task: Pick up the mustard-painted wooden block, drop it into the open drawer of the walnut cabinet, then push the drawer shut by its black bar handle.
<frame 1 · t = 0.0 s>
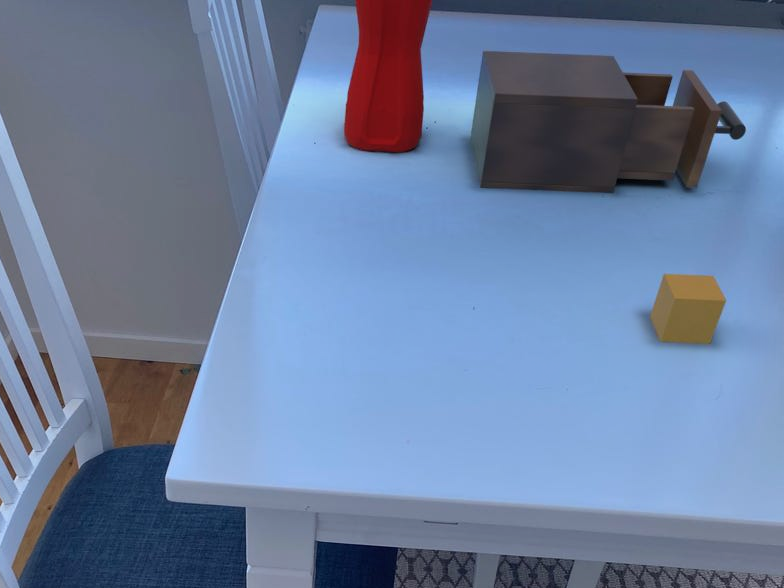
block: (678, 332, 85), on the table
red bottle: (382, 140, 114), on the table
drawer: (653, 126, 105), point 5 cm above the table, slide at 8.0 cm
cabinet: (538, 168, 109), on the table
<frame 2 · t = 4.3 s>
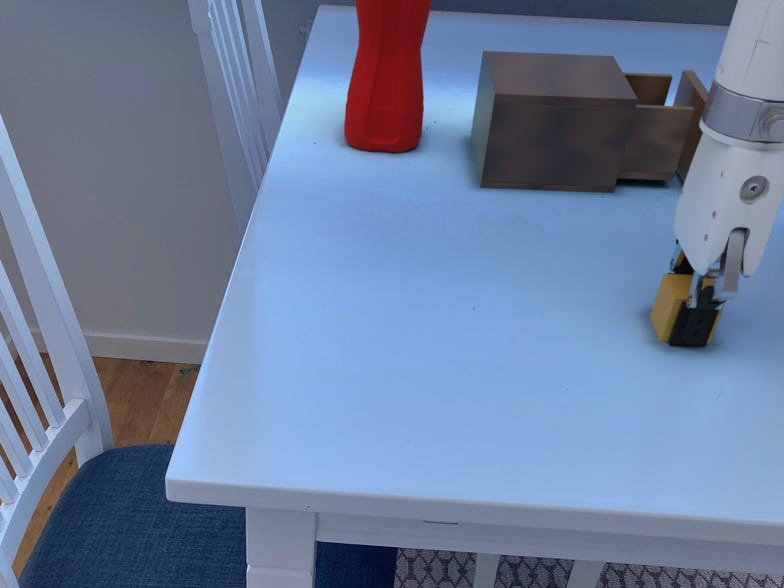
hand: (679, 329, 85), 0 cm above the table, tool pointing down, fingers closed on block, 4 cm apart
block: (678, 332, 85), on the table, touching gripper
everything else where it was.
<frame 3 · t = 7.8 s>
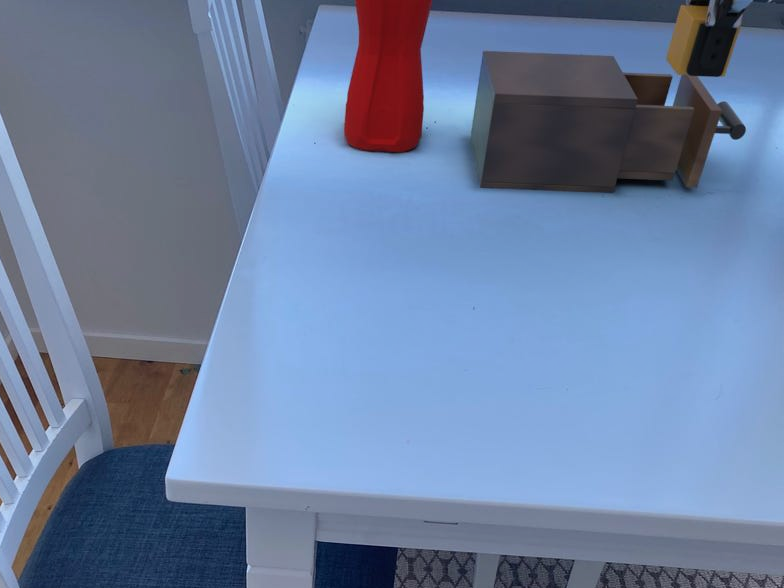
hand: (696, 63, 88), 15 cm above the table, tool pointing down, fingers closed on block, 4 cm apart
block: (694, 67, 88), point 15 cm above the table, touching gripper
everything else where it was.
when the fingers open (8 cm above the table, at t = 12.0 s): block stays where it is, resting on drawer.
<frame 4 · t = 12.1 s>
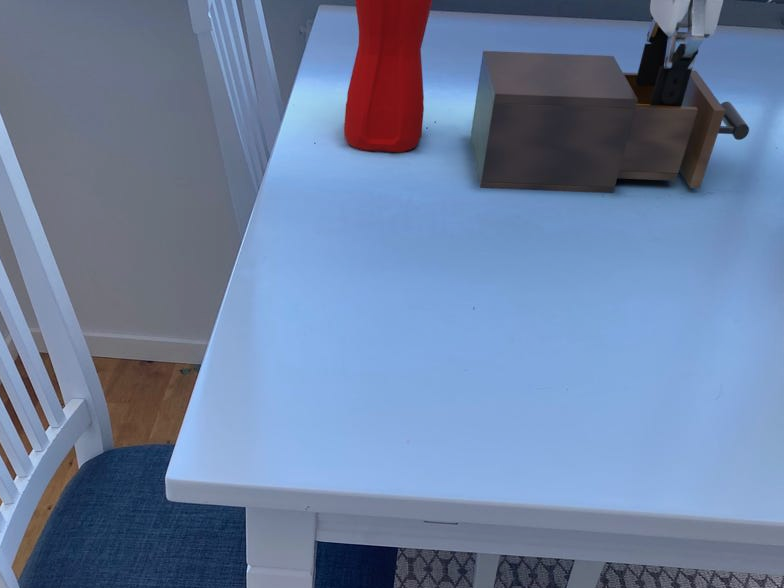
hand: (657, 95, 103), 8 cm above the table, tool pointing down, fingers open, 6 cm apart
block: (640, 153, 107), point 2 cm above the table, touching drawer
drawer: (656, 126, 105), point 5 cm above the table, slide at 8.4 cm, touching block
everything else where it was.
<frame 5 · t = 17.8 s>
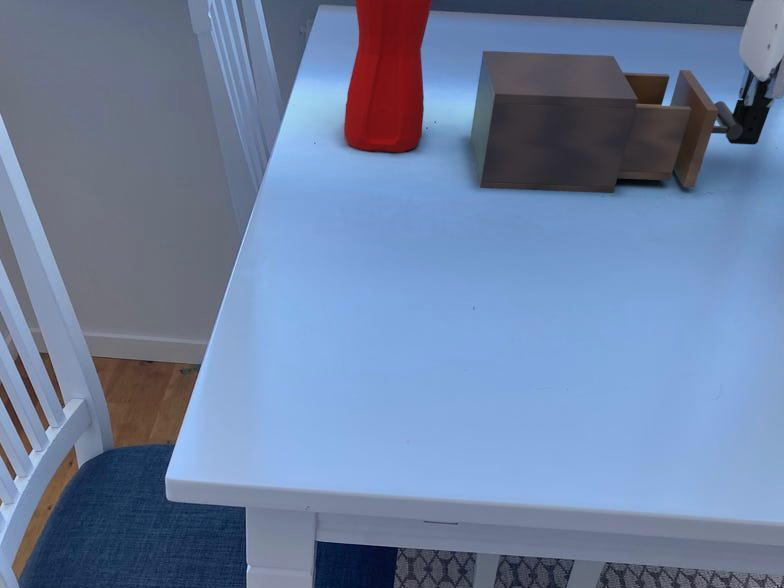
hand: (740, 140, 106), 4 cm above the table, tool pointing down, fingers closed
drawer: (650, 126, 105), point 5 cm above the table, slide at 7.7 cm, touching block, gripper
everything else where it was.
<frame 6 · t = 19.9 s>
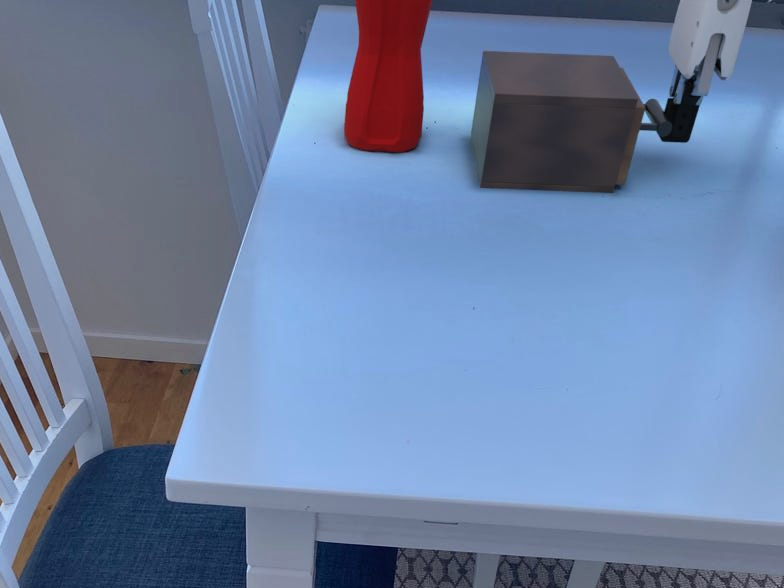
hand: (672, 139, 106), 4 cm above the table, tool pointing down, fingers closed
block: (567, 150, 107), point 2 cm above the table, touching drawer
drawer: (582, 123, 105), point 5 cm above the table, slide at 0.0 cm, touching block, cabinet, gripper
everything else where it was.
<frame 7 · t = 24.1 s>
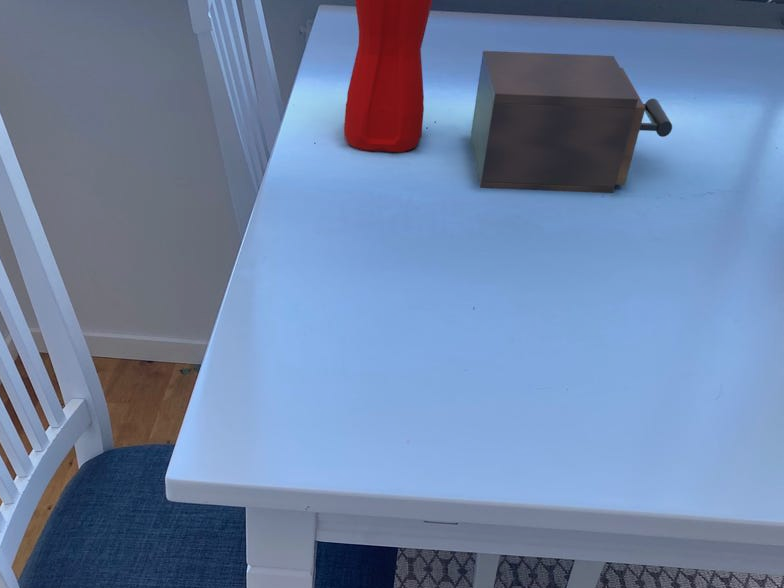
drawer: (582, 123, 105), point 5 cm above the table, slide at 0.0 cm, touching block, cabinet
everything else where it was.
at the end: block inside the target area in the cabinet (2.9 cm from its centre), point 2.1 cm above the cabinet's base; drawer slide at 0.0 cm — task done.
